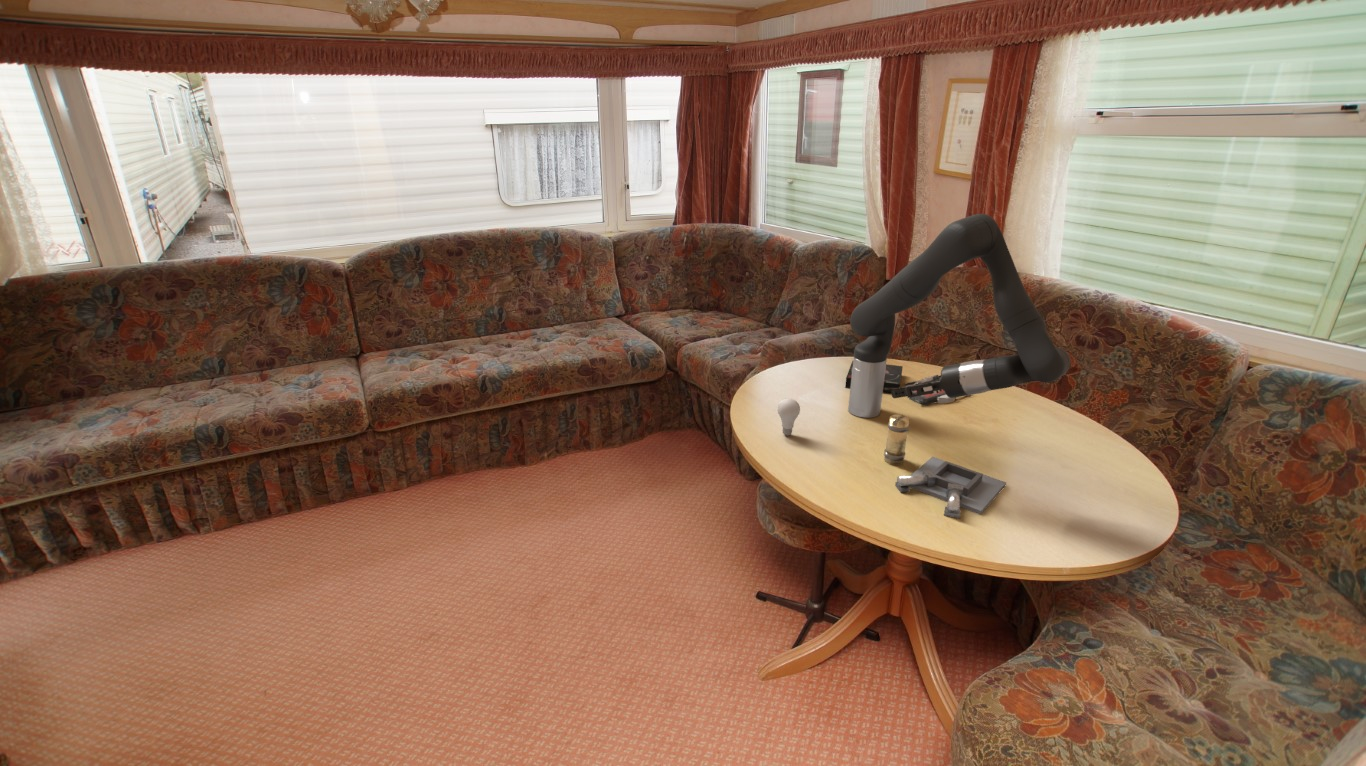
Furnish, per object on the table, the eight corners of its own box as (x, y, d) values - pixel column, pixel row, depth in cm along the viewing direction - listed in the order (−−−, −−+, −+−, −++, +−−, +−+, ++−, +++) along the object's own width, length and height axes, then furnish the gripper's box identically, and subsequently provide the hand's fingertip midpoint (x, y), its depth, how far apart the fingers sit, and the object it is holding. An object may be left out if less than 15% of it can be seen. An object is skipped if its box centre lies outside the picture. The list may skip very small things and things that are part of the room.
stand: (931, 459, 161) (933, 449, 160) (1005, 485, 149) (1008, 475, 148) (903, 484, 150) (904, 473, 149) (980, 514, 139) (982, 503, 138)
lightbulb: (773, 430, 177) (775, 394, 172) (795, 429, 177) (797, 393, 173) (778, 440, 171) (780, 404, 167) (800, 439, 171) (803, 403, 167)
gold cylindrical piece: (889, 453, 164) (894, 412, 159) (907, 460, 161) (913, 418, 156) (879, 460, 161) (885, 418, 156) (898, 467, 158) (904, 425, 153)
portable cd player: (901, 376, 213) (902, 365, 212) (898, 396, 199) (899, 384, 197) (851, 370, 219) (852, 359, 217) (845, 389, 204) (846, 377, 202)
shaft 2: (945, 496, 145) (948, 483, 144) (960, 499, 144) (963, 486, 143) (943, 515, 139) (946, 501, 137) (959, 518, 138) (962, 504, 136)
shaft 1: (927, 483, 151) (929, 470, 149) (933, 490, 148) (935, 477, 146) (895, 485, 150) (897, 472, 149) (900, 492, 147) (902, 479, 146)
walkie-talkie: (926, 410, 188) (971, 397, 197) (928, 397, 187) (974, 384, 195) (904, 400, 196) (948, 387, 204) (906, 387, 194) (951, 374, 203)
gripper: (972, 358, 147) (906, 371, 158) (953, 367, 137) (883, 380, 148) (980, 389, 147) (913, 400, 158) (961, 400, 137) (891, 411, 148)
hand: (899, 390), depth 153 cm, fingers open, 8 cm apart
